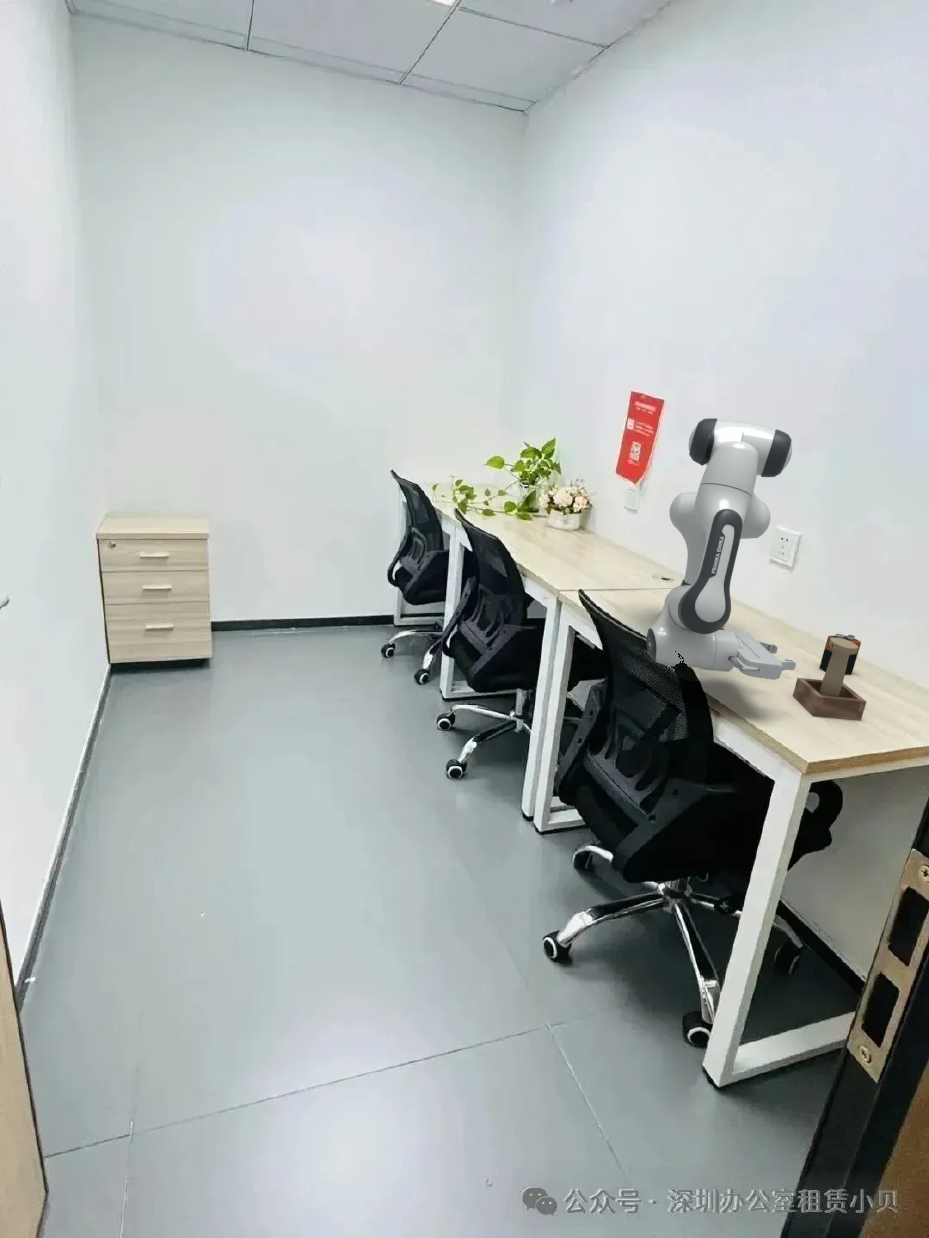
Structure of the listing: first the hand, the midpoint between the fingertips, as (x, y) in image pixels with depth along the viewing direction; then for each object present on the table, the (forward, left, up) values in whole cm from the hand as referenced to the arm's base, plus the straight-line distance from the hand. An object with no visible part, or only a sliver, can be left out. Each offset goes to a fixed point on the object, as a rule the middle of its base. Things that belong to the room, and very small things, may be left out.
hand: (784, 656), depth 151 cm
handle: (0, +12, -11) cm, 16 cm away
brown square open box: (0, +12, -11) cm, 16 cm away
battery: (-24, +26, -11) cm, 37 cm away
